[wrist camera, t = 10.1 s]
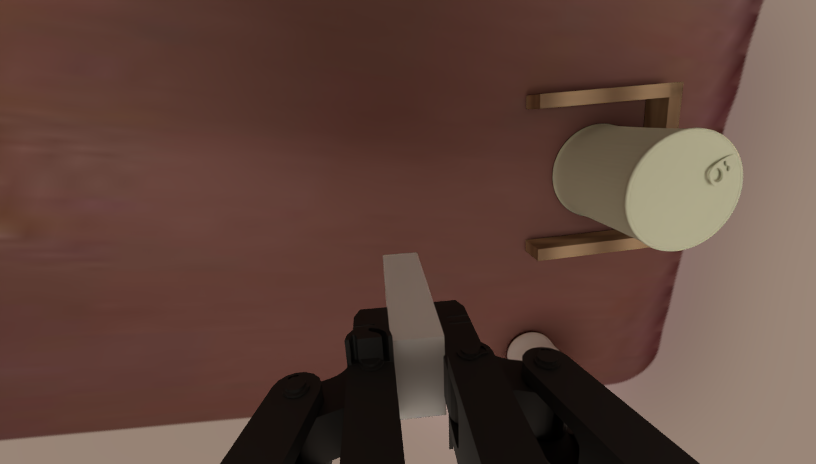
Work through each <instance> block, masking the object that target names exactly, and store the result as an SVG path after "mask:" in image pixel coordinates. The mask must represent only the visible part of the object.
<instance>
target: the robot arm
mask: <svg viewBox="0 0 816 464" xmlns="http://www.w3.org/2000/svg"><path fill="white" fill-rule="evenodd" d="M383 265H384V278H385V292H386V305H387V307H385V308H374V309H363V310H360V311H359V312H358V313H357V314H356V316H355V317H354V324H353V331H351V332H350V333H349V334H348V335H347V336H346V338H345V348H346V357H347V369H345V370H344V371H343V372H342V373H341V374H339V375H337V376H335V377H333V378H330V379H328V380H325V381H320V378H319V377H317V376H316V375H315V374H312V373H307V372H301V373H294V374H291V375H288V376H286V377H284V378H282V379H281V380H279V381H278V382H277V383H276V384H275V385H274V386H273V387H272V388H271V390H270V391H269V393H268V394H267V396H266V397H265V399H264V400H263V401H262V403H261V404H260V406H259V407H258V409H257V410H256V412H255V413H254V415H253V416H252V418H251V419H250V421H249V422H248V424H247V425H246V426H245V428H244V429H243V431H242V432H241V434H240V436H239V437H238V438H237V440H236V441H235V443H234V444H233V446H232V447H231V449H230V450H229V451H228V453H227V455H226V456H225V457H224V459H223V460H222V462H221V463H220V464H332V460H334V459H337V458H339V457H340V464H405V460H404V452H403V441H402V431H401V422H400V420H403V419H412V418H421V417H430V416H439V415H446V405H447V409H448V413H449V446H450V447H449V449H453V446H454V451H455V455H456V458H457V463H458V464H699V463H698V462H697V461H696V460H695V459H693V458H692V457H691V456H690V455H688V454H687V453H686V452H685V451H683V450H682V449H681V448H680V447H679V446H677V445H676V444H675V443H674V442H672V441H671V440H670V439H669V438H667V437H666V436H665V435H664V434H663V433H661V432H660V431H659V430H658V429H657V428H655V427H654V426H653V425H651V424H650V423H649V422H648V421H647V420H645V419H644V418H643V417H642V416H641V415H639V414H638V413H637V412H635V411H634V410H633V409H632V408H631V407H629V406H628V405H627V404H626V403H625V402H623V401H622V400H621V399H620V398H618V397H617V396H616V395H615V394H613V393H612V392H611V391H610V390H609V389H607V388H606V387H605V386H604V385H603V384H601V383H600V382H599V381H598V380H596V379H595V378H594V377H593V376H592V375H590V374H589V373H588V372H587V371H585V370H584V369H583V368H582V367H580V366H579V365H578V364H577V363H576V362H574V361H573V360H572V359H571V358H569V357H568V356H567V355H565V354H564V353H562V352H560V351H558V350H555V349H552V348H547V347H536V348H531V349H529V350H527V351H526V352H525V353H524V354H523V355H522V361H520V360H512V359H505V358H500V357H497V356H495V355H494V353H493V351H492V350H491V348H490V347H489V346H488V345H486V344H484V343H482V342H480V339H479V337H478V335H477V333H476V331H475V329H474V327H473V325H472V322H471V320H470V318H469V316H468V314H467V312H466V310H465V308H464V306H463V305H461V304H460V303H458V302H457V301H456V300H451V301H440V302H433V300H432V297H431V294H430V291H429V287H428V284H427V281H426V278H425V275H424V272H423V269H422V266H421V263H420V260H419V257H418V254H417V252H416V253H404V254H391V255H383Z"/></svg>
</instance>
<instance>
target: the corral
mask: <svg viewBox="0 0 816 464" xmlns="http://www.w3.org/2000/svg"><path fill="white" fill-rule="evenodd" d="M682 91H683V82H674V83H663V84H651V85H640V86H628V87H616V88H605V89H593V90H581V91H570V92H558V93H546V94H536V95H528V96H526V109H542V108H553V107H564V106H575V105H586V104H598V103H609V102H620V101H631V100H642V99H646V107H645V118H644V127H645V128H676V129H678V126H679V117H680V108H681V100H682ZM648 247H649V246H647V245H646V244H644V243H643V242H641V241H639V240H637V239H635V238H633V237H631V236H628V235H626V234H624V233H622V232H620V231H618V230H616V229H615V230H606V231H598V232H589V233H581V234H572V235H564V236H555V237H547V238H538V239H530V240H526V252H528V253H529V254H530V255H531V256H532V257H534V258H535V259H536V260H537V261H542V260H550V259H558V258H566V257H575V256H583V255H591V254H599V253H607V252H615V251H623V250H632V249H640V248H648Z"/></svg>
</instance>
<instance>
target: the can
mask: <svg viewBox="0 0 816 464" xmlns="http://www.w3.org/2000/svg"><path fill="white" fill-rule="evenodd" d="M552 179H553V187H554V190H555V193H556V195H557V197H558V199H559V201H560V202H561V203H562V204H563V205H564V206H565V207H566V208H567V209H568V210H570V211H571V212H573V213H576V214H578V215H582V216H586V217H589V218H591V219H593V220H596V221H598V222H600V223H602V224H605V225H607V226H609V227H611V228H613V229H616V230H618V231H620V232H622V233H624V234H626V235H628V236H631V237H633V238H635V239H637V240H639V241H641V242H643V243H644V244H646V245H647V246H649V247H651V248H654V249H657V250H662V251H680V250H685V249H688V248H691V247H694V246H696V245H698V244H700V243H702V242H704V241H705V240H707V239H708V238H710V237H711V236H712V235H714V234H715V233H716V232H717V231H718V230H719V229H720V228H721V227H722V226H723V225H724V224H725V222H726V221H727V220H728V218H729V217H730V216H731V214H732V212H733V211H734V209H735V207H736V205H737V202H738V200H739V197H740V194H741V190H742V183H743V168H742V162H741V159H740V156H739V153H738V151H737V150H736V148H735V147H734V145H733V144H732V143H731V142H730V141H729V140H728V139H727V138H726V137H725V136H723V135H722V134H720V133H718V132H716V131H713V130H710V129H705V128H688V129H676V128H645V127H625V126H615V125H611V124H595V125H591V126H588V127H586V128H583V129H582V130H580V131H578V132H577V133H575V134H574V135H573V136H571V137H570V138H569V139H568V140H567V141H566V142H565V144H564V145H563V146H562V148H561V149H560V151H559V153H558V155H557V157H556V160H555V163H554V167H553V176H552Z"/></svg>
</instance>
